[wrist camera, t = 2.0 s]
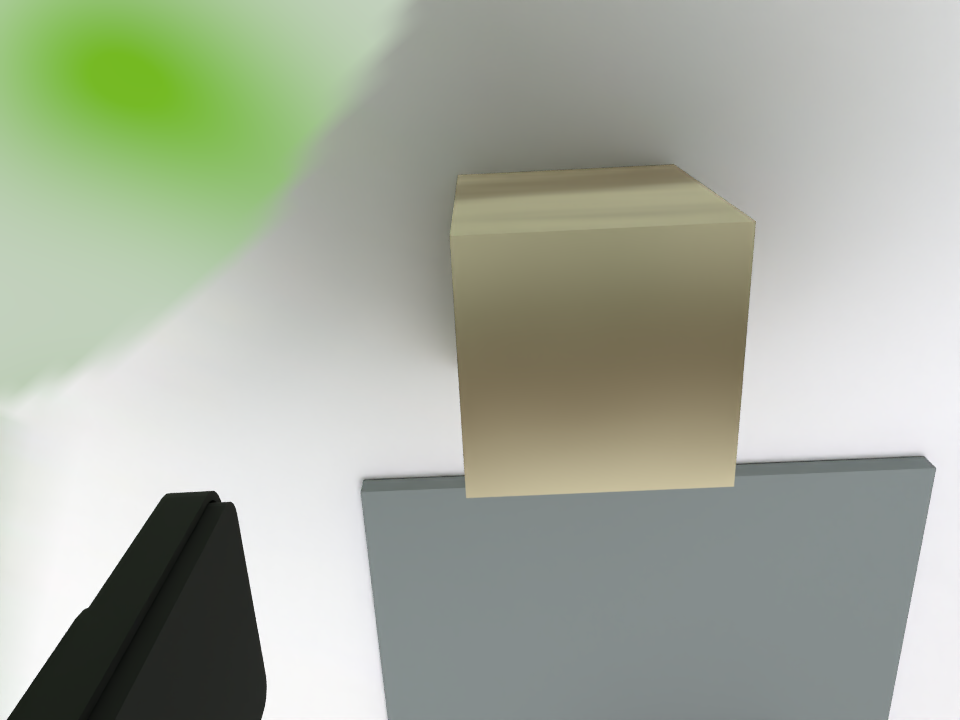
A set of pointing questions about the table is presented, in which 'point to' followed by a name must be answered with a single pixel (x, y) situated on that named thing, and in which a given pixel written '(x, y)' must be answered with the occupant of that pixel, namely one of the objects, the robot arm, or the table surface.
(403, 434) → the table surface
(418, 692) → the mat
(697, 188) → the maple block
